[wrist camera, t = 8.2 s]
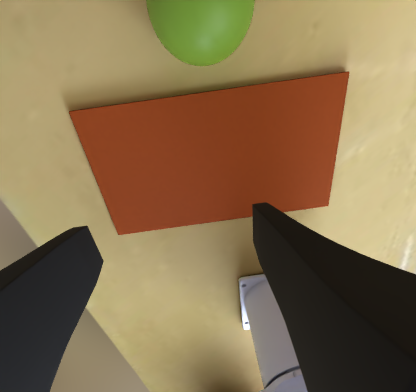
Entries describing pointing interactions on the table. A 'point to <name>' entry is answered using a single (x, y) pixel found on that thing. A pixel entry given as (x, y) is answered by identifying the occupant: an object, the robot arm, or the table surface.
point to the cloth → (215, 152)
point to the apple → (200, 27)
